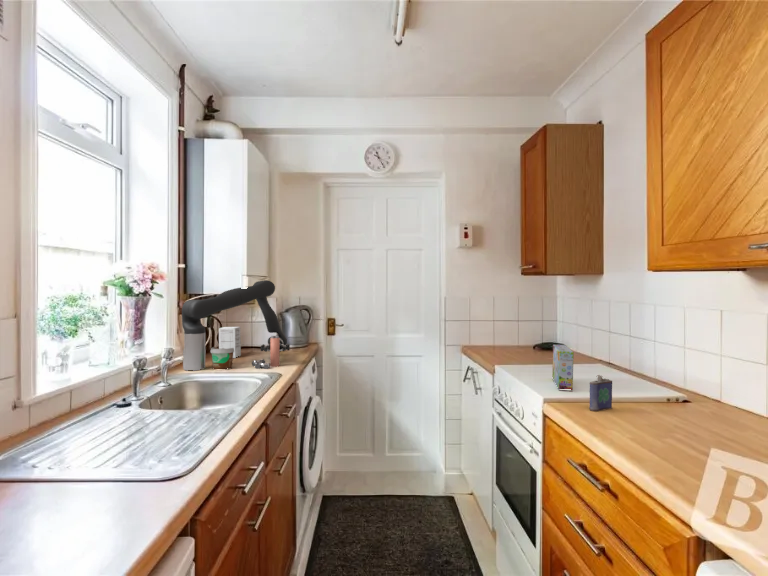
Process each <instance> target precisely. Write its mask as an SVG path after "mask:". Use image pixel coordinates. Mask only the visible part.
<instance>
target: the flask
mask: <svg viewBox="0 0 768 576" xmlns="http://www.w3.org/2000/svg"><path fill="white" fill-rule="evenodd" d="M596 377H597V379H596V380H594V381H589V411H591V412H599V411H605V410H610V409H613V405H612V403H613V402H612V401H613V380H611V379H608V378H604V377H603V376H602V375H600V374H598V375H596Z"/></svg>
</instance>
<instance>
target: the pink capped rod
mask: <svg viewBox="0 0 768 576" xmlns="http://www.w3.org/2000/svg"><path fill="white" fill-rule="evenodd" d="M270 337H271V338H270ZM270 337H269V338H270V351H269V352H270V355H269V356H270V357H269V358H270V360H269V363H270V368H276V367H277V366H278V367H280V353H281V352H280V338H279V336H276V335H271V336H270Z"/></svg>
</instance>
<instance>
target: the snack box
mask: <svg viewBox="0 0 768 576" xmlns="http://www.w3.org/2000/svg"><path fill="white" fill-rule="evenodd" d="M574 355H575V352H574V351H573V350H572V349H570V347H568V346H567V345H565V344H552V377H553V379H554V381H555V383H556V384H555V383H554V384H555V386H556V385H557V386H556V388H557V387H558V388H559V389H571V390H573V389H574V358H575V357H574ZM553 379H552V380H553ZM554 381H553V382H554ZM558 388H557V389H558Z"/></svg>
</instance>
